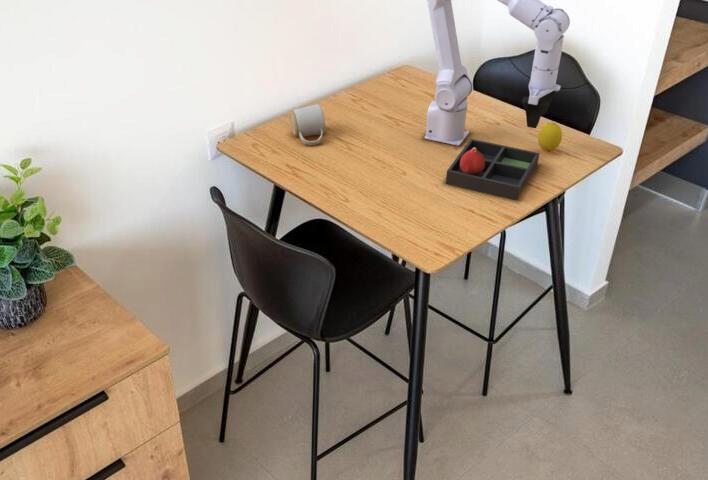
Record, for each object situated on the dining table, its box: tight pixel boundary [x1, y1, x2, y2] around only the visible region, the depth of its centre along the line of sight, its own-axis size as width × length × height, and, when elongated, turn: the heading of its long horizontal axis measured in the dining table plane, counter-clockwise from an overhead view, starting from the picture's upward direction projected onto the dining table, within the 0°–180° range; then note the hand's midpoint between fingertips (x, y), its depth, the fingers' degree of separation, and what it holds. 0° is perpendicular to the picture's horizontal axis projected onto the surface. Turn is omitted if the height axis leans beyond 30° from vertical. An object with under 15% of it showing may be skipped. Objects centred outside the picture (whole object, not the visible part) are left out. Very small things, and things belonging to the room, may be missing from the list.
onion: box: [460, 148, 485, 176], centre depth 179 cm, size 6×6×8 cm
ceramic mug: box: [289, 103, 326, 146], centre depth 199 cm, size 11×8×8 cm
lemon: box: [537, 121, 563, 153], centre depth 188 cm, size 6×6×8 cm
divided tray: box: [445, 138, 541, 201], centre depth 182 cm, size 17×17×4 cm
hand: (536, 120), depth 182 cm, fingers open, 7 cm apart
